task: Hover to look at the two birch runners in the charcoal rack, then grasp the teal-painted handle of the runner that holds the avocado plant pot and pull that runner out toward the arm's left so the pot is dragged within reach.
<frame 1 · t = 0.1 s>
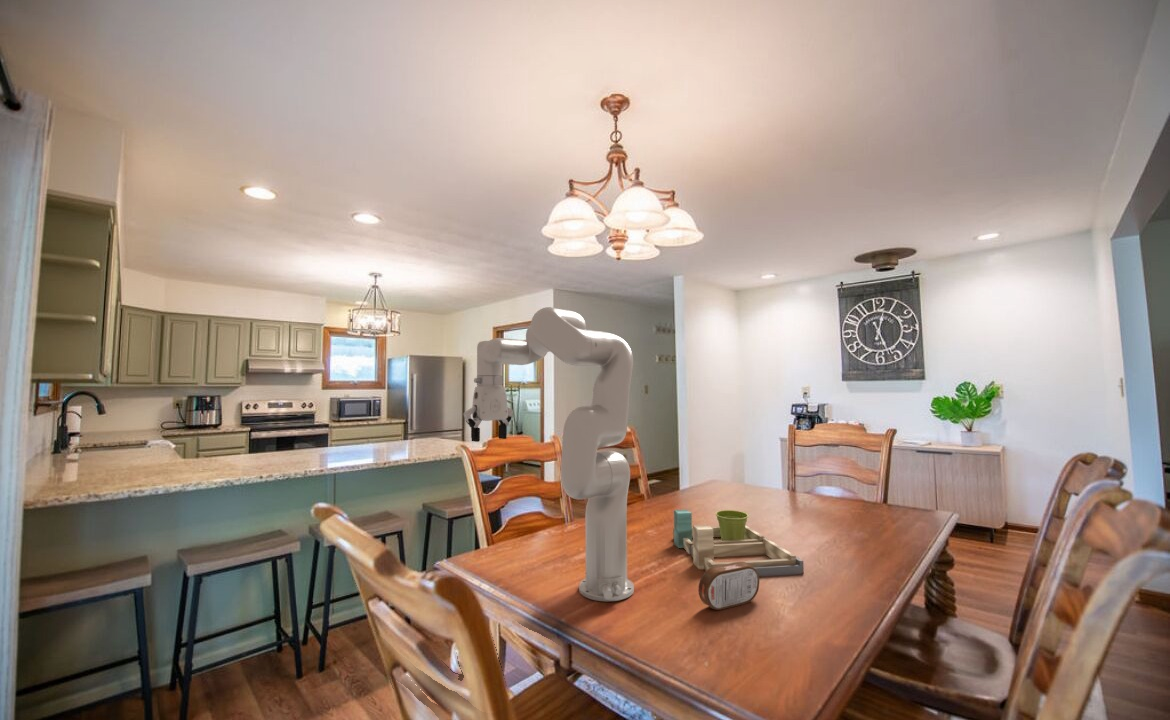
hand: (489, 439, 142), 31 cm above the table, tool pointing down, fingers open, 9 cm apart
plant pot: (732, 544, 142), resting in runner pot
rack: (728, 553, 133), on the table
tin: (730, 606, 102), on the table
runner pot: (714, 527, 142), point 5 cm above the table, slide at 0.0 cm
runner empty: (738, 544, 126), point 5 cm above the table, slide at 0.0 cm
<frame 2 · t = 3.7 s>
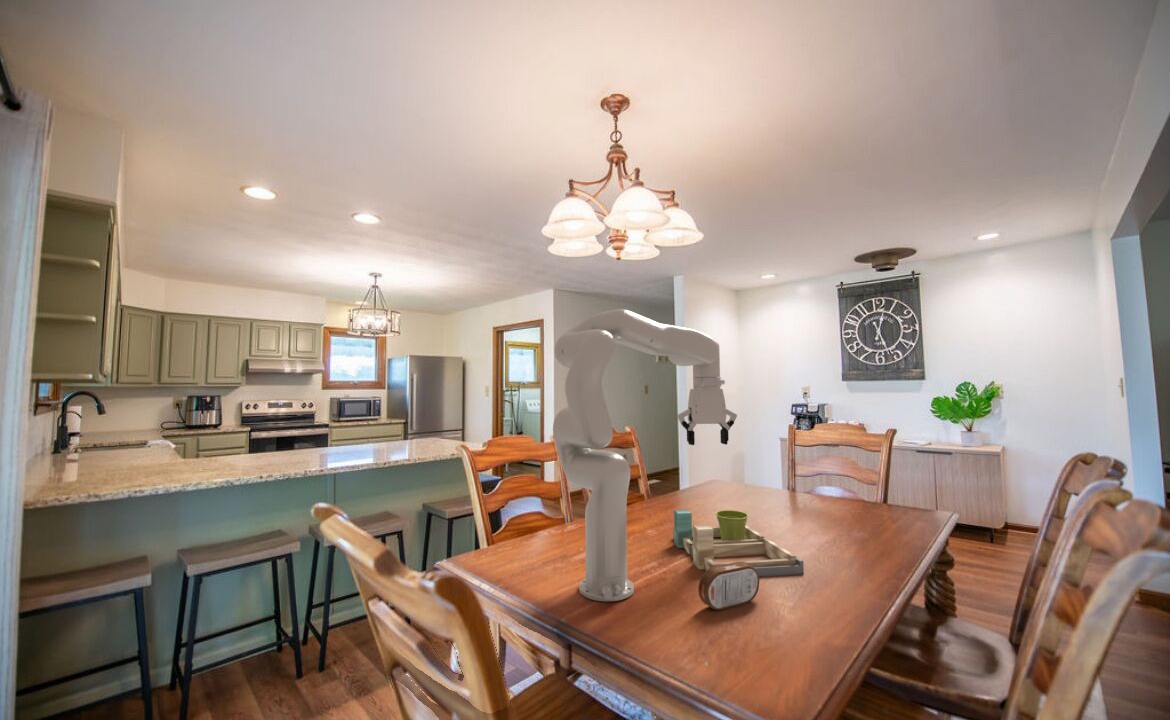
hand: (707, 444, 136), 30 cm above the table, tool pointing down, fingers open, 9 cm apart
nothing on the table moved.
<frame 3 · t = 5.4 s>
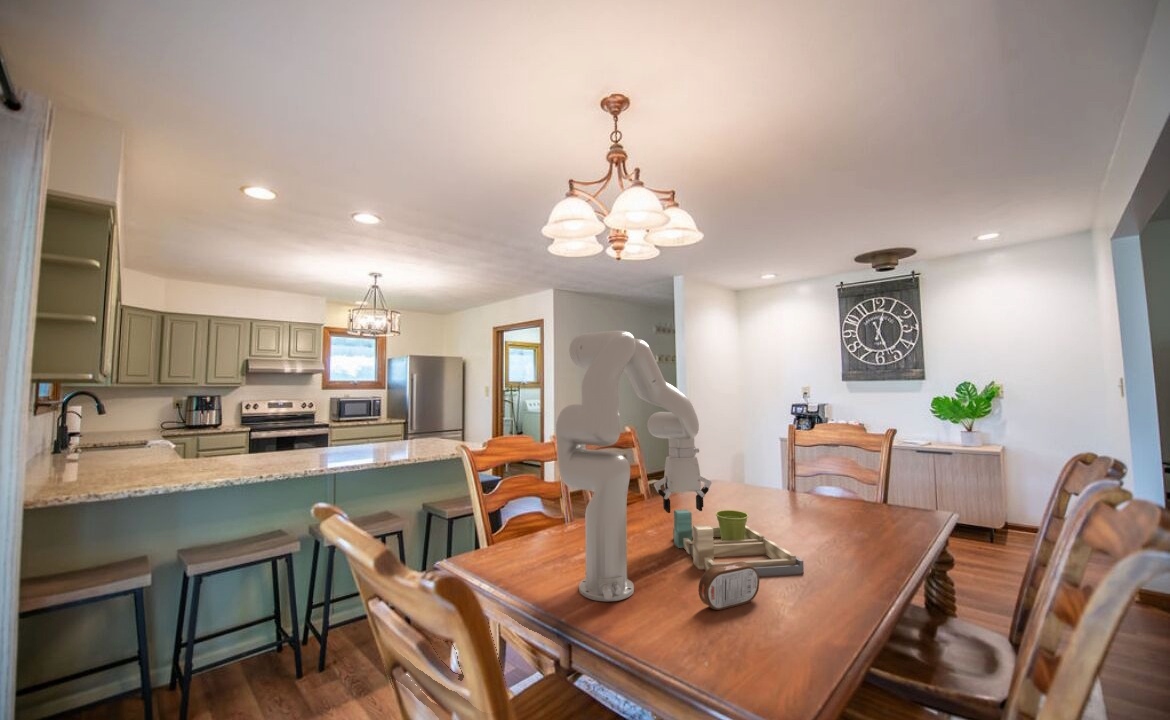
hand: (683, 510, 141), 10 cm above the table, tool pointing down, fingers open, 9 cm apart
nothing on the table moved.
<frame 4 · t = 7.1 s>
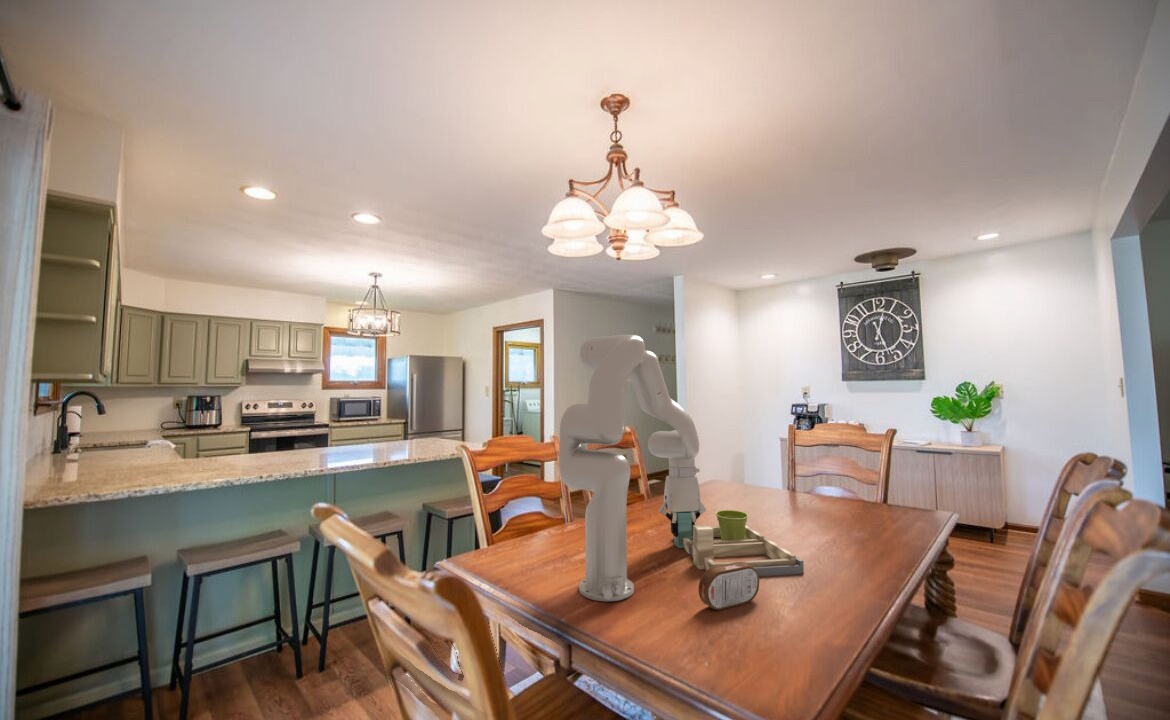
hand: (683, 534, 140), 3 cm above the table, tool pointing down, fingers closed on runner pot, 4 cm apart
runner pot: (714, 527, 142), point 5 cm above the table, slide at 0.0 cm, touching gripper
everything else where it was.
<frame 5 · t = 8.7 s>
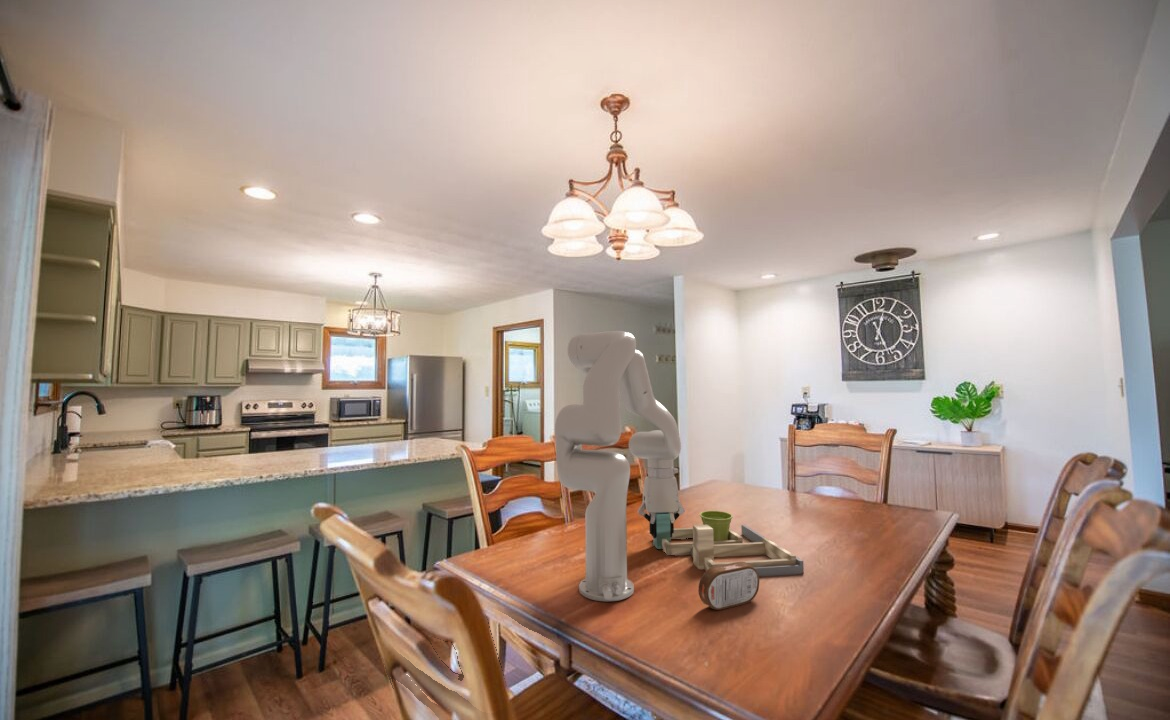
hand: (661, 535, 139), 3 cm above the table, tool pointing down, fingers closed on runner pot, 4 cm apart
plant pot: (716, 545, 141), resting in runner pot
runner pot: (693, 528, 141), point 5 cm above the table, slide at 6.4 cm, touching gripper, plant pot
everything else where it was.
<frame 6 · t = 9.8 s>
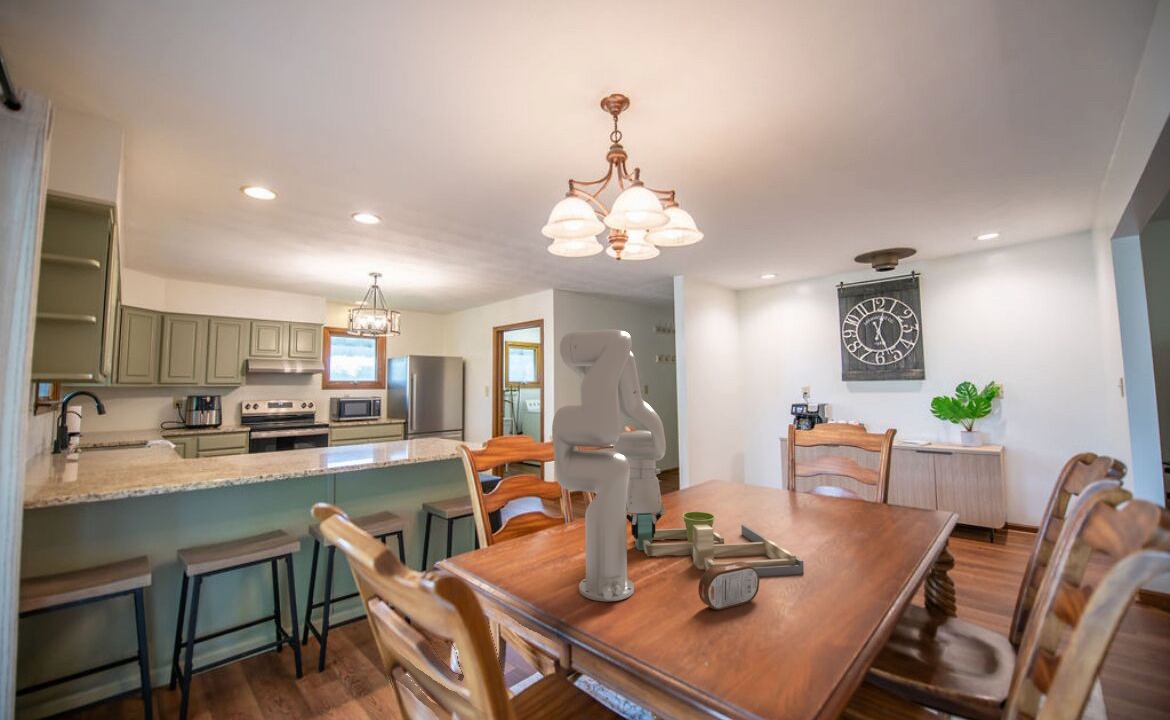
hand: (643, 536, 139), 3 cm above the table, tool pointing down, fingers closed on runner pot, 4 cm apart
plant pot: (699, 546, 140), resting in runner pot
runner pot: (675, 529, 140), point 5 cm above the table, slide at 11.9 cm, touching gripper, plant pot
everything else where it was.
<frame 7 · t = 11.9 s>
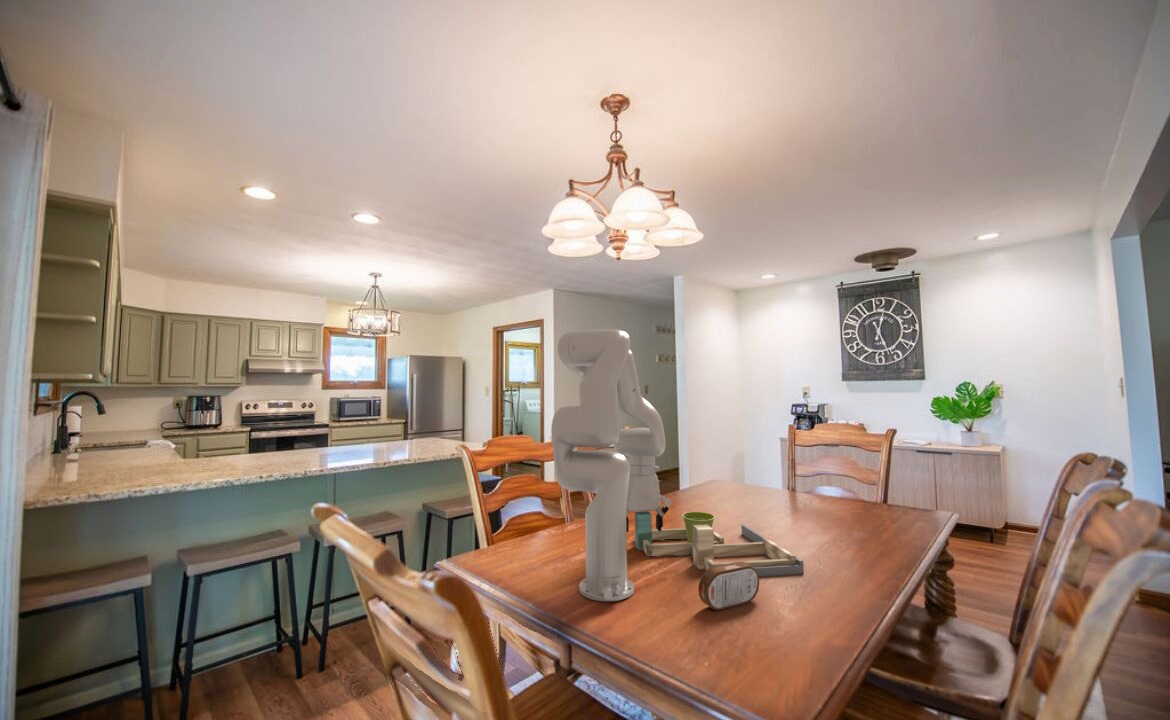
hand: (642, 530, 138), 5 cm above the table, tool pointing down, fingers open, 9 cm apart
plant pot: (699, 546, 140), resting in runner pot
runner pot: (675, 529, 140), point 5 cm above the table, slide at 11.9 cm
everything else where it was.
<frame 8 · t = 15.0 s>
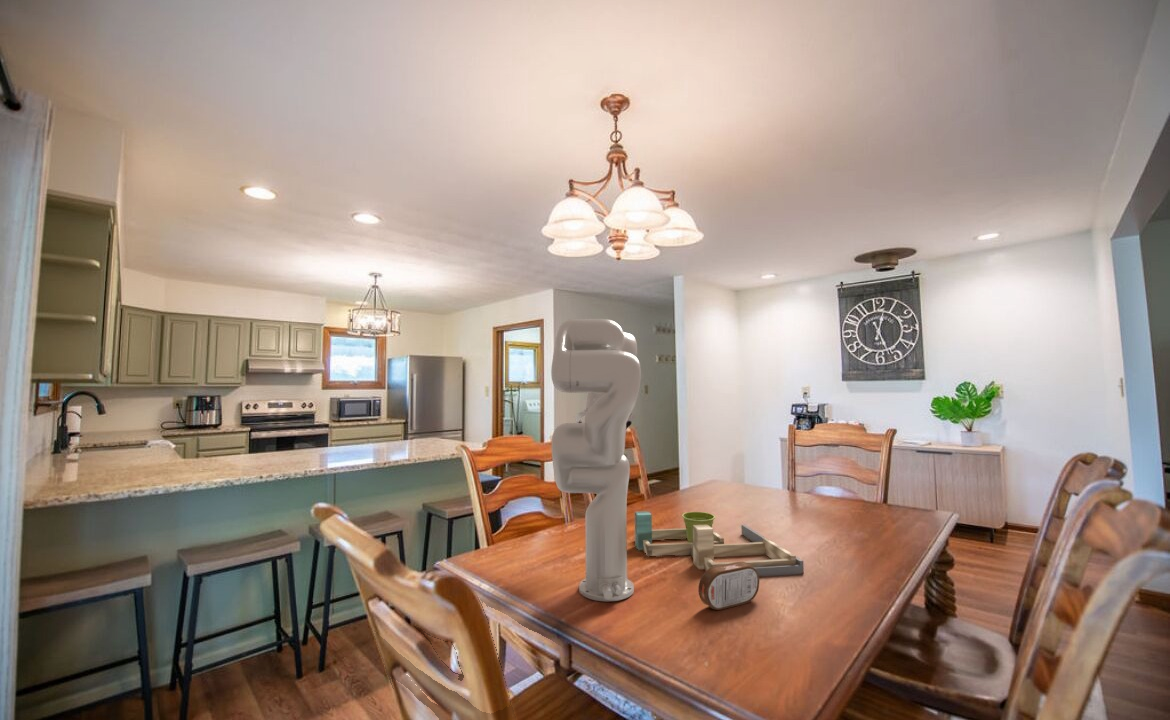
hand: (604, 444, 136), 30 cm above the table, tool pointing down, fingers open, 9 cm apart
nothing on the table moved.
at the end: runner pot slide at 11.9 cm; plant pot moved 10.5 cm from its start; plant pot tilted 0° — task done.
